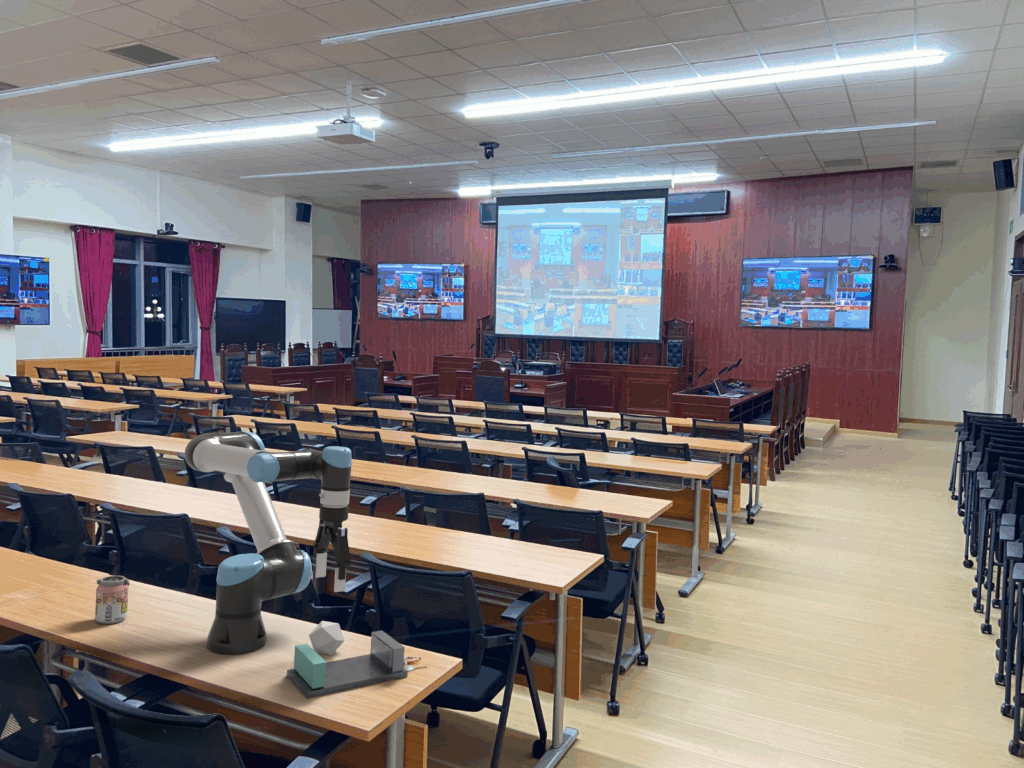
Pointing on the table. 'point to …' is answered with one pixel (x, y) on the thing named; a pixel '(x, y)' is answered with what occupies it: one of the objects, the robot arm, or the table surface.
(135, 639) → the table surface
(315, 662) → the bar
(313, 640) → the die
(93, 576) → the table surface
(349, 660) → the vise base
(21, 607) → the table surface
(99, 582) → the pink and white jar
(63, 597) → the table surface
